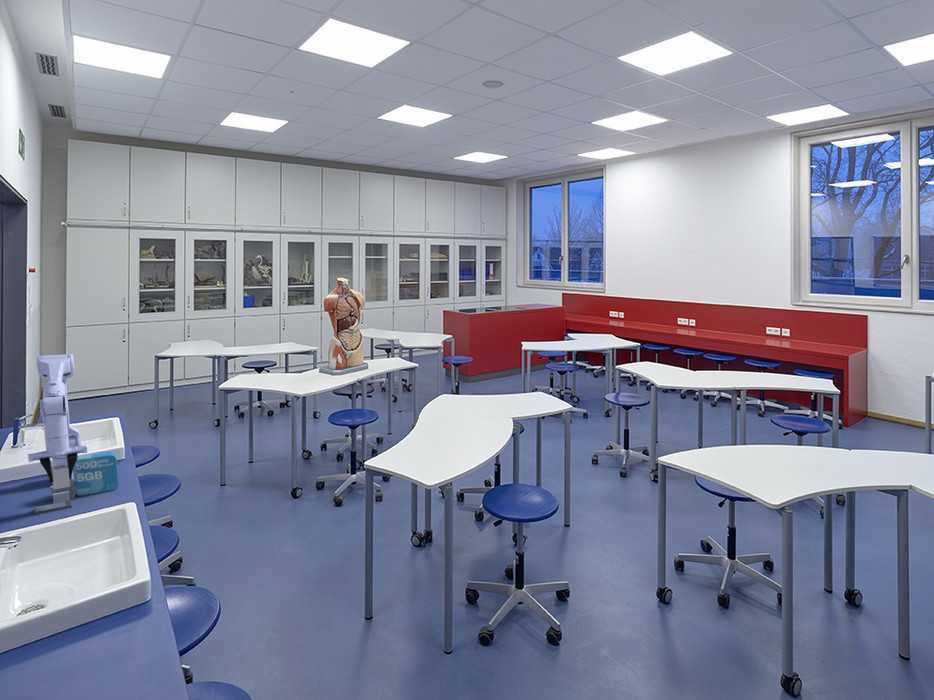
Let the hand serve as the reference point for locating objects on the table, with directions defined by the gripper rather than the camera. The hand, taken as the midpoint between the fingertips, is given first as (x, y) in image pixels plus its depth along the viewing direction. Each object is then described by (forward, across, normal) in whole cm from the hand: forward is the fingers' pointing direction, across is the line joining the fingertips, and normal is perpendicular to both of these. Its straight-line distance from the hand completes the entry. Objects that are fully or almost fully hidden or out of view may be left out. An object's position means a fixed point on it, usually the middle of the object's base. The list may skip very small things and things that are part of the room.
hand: (60, 479), depth 179 cm
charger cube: (+8, +1, +8) cm, 12 cm away
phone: (+9, -2, 0) cm, 9 cm away
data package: (+9, +10, +9) cm, 16 cm away
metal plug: (+2, 0, 0) cm, 2 cm away
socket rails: (+8, 0, +8) cm, 12 cm away
